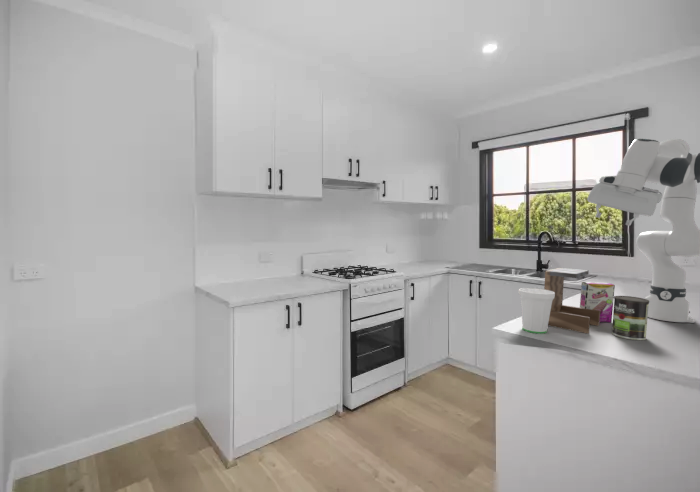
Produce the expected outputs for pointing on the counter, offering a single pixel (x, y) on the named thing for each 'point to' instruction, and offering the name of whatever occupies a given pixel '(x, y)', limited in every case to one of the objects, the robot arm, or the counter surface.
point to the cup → (535, 309)
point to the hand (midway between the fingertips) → (612, 221)
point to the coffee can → (630, 317)
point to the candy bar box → (598, 298)
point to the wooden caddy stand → (565, 314)
